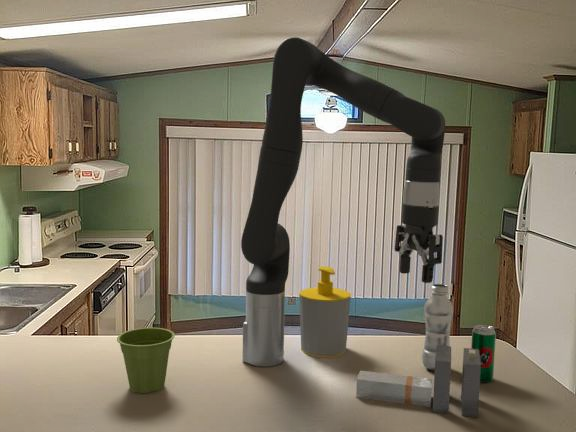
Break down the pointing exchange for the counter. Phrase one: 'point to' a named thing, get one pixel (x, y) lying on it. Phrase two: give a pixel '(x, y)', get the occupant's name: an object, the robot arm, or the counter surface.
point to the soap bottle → (324, 318)
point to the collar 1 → (442, 379)
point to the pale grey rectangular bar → (394, 388)
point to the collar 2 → (470, 382)
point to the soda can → (485, 349)
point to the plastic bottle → (436, 323)
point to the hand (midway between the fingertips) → (415, 277)
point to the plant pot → (146, 357)
